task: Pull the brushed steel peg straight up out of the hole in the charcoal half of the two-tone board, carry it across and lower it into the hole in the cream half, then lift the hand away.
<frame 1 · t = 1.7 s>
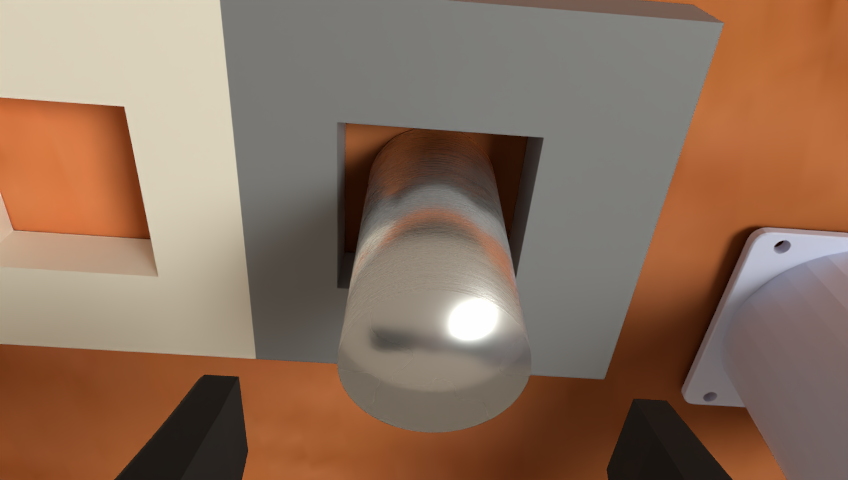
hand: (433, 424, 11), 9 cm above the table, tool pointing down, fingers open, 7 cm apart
steel peg: (431, 185, 19), resting in dock board
dock board: (257, 174, 19), on the table
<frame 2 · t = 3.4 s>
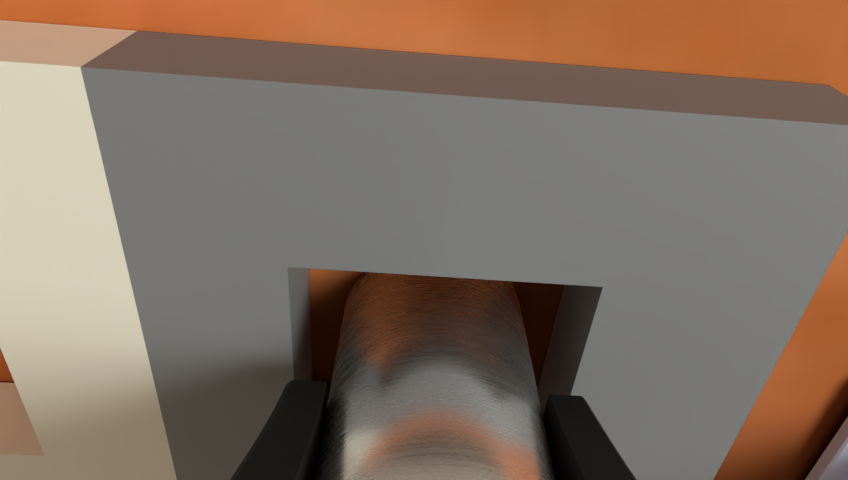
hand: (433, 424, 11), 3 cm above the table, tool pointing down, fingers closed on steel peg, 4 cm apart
steel peg: (432, 321, 14), resting in dock board, touching gripper
dock board: (185, 306, 13), on the table
when the fingers open (4 cm above the table, at t = 8.1 s): steel peg drops 1 cm, resting in dock board.
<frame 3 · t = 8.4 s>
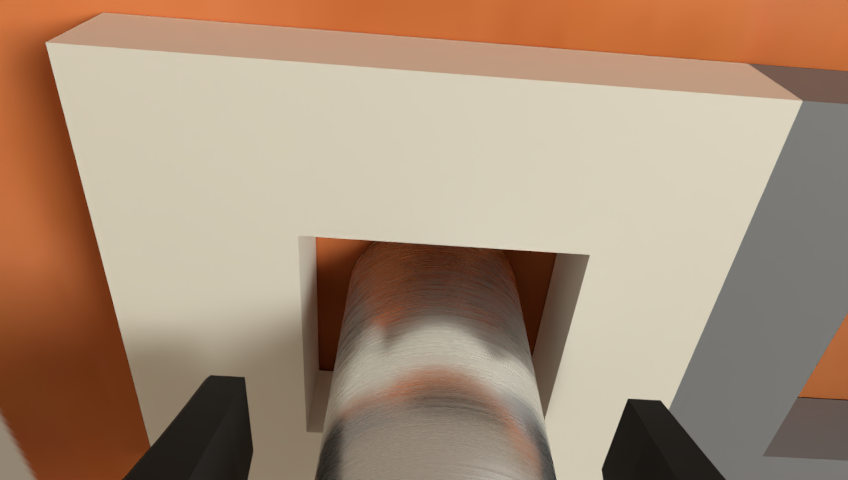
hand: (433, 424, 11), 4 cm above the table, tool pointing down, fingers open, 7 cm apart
steel peg: (432, 293, 15), resting in dock board
dock board: (657, 308, 15), on the table
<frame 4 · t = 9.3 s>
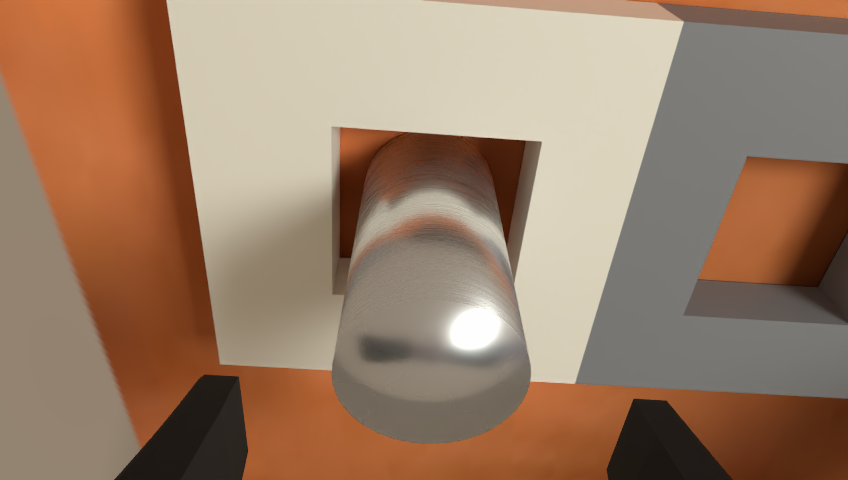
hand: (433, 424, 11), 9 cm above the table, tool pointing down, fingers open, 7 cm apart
steel peg: (428, 189, 19), resting in dock board
dock board: (602, 202, 19), on the table
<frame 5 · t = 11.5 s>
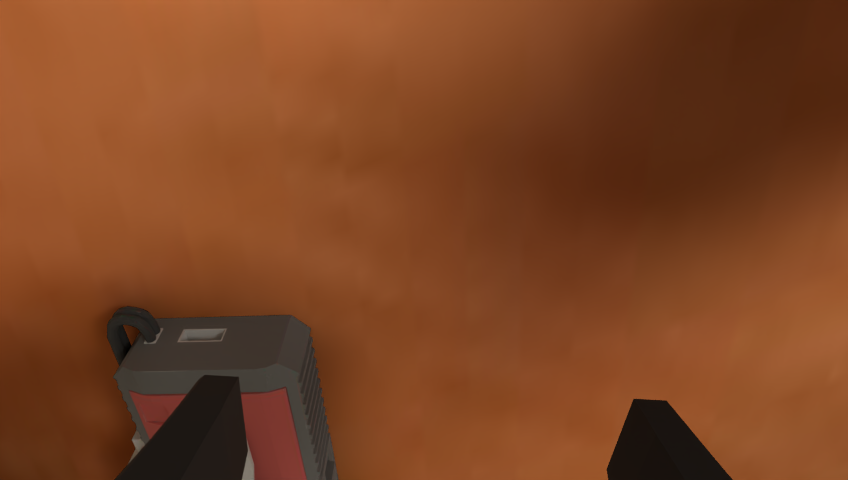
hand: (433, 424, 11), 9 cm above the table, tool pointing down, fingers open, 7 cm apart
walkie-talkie: (245, 458, 27), on the table
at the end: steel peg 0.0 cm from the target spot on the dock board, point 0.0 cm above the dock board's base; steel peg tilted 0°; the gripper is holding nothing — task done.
